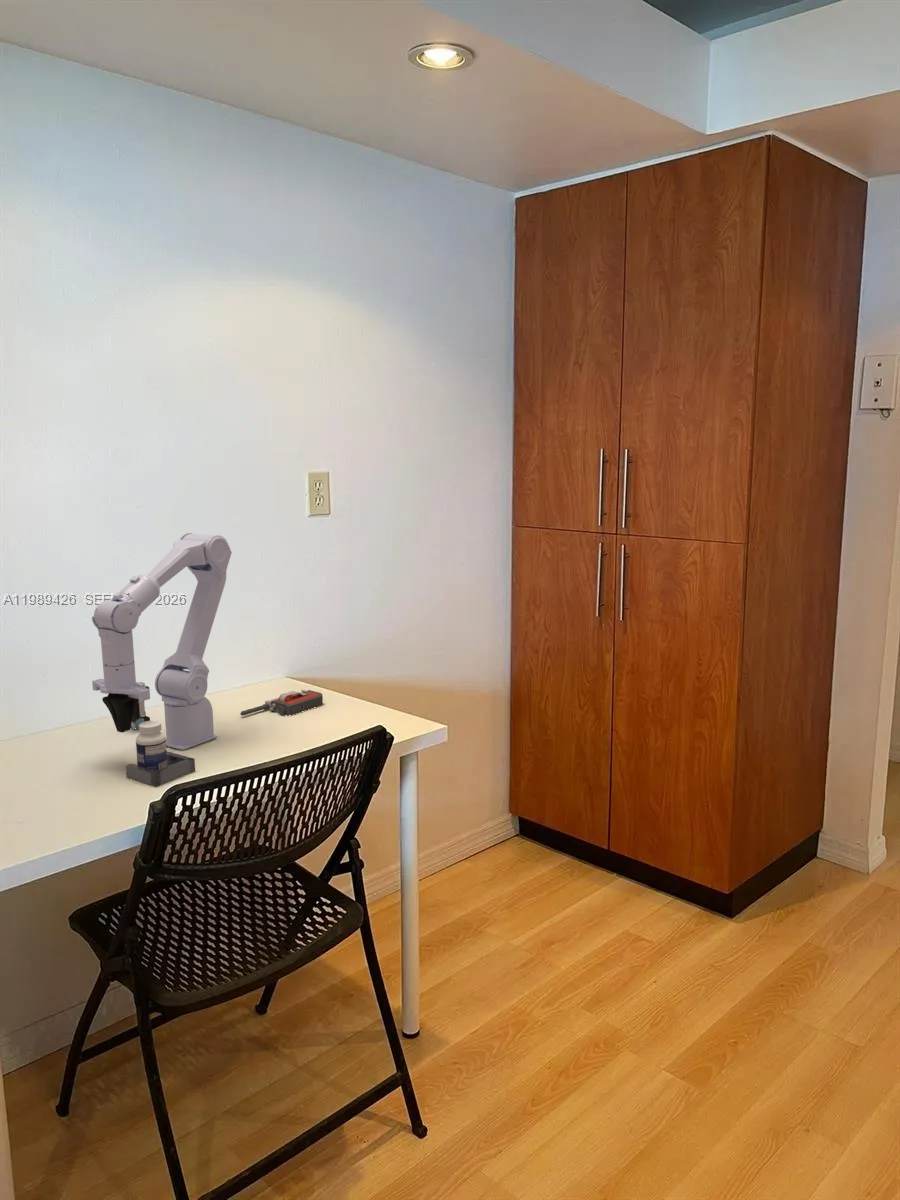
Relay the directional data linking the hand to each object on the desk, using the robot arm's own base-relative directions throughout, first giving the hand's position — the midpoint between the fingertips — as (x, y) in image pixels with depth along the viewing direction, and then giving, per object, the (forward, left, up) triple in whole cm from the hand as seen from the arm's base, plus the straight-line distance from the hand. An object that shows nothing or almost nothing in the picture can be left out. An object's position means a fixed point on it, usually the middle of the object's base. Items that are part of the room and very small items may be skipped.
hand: (123, 730), depth 175 cm
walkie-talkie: (-43, +2, -8) cm, 44 cm away
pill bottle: (0, +8, -7) cm, 11 cm away
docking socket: (0, +10, -7) cm, 12 cm away
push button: (-16, -15, -7) cm, 23 cm away
